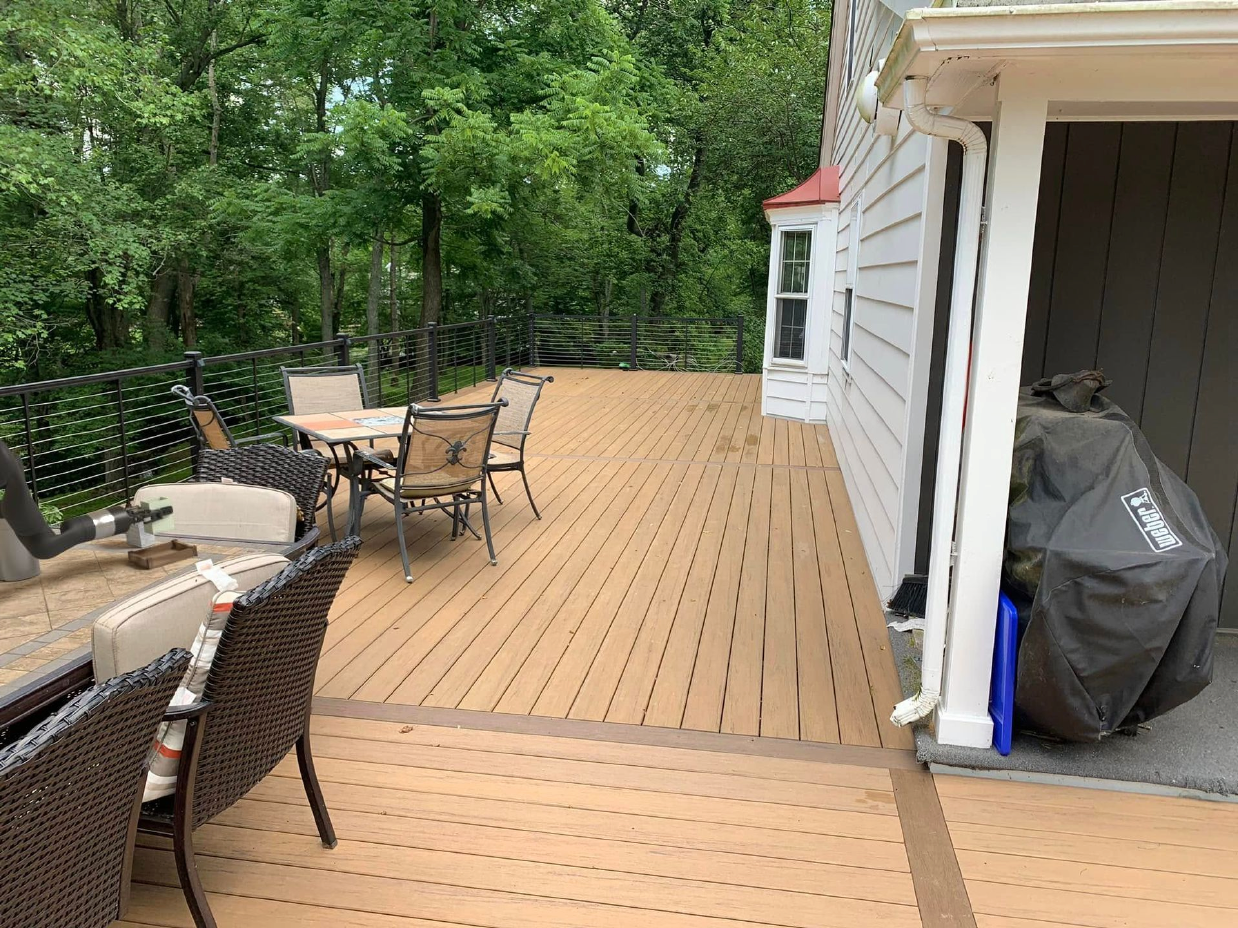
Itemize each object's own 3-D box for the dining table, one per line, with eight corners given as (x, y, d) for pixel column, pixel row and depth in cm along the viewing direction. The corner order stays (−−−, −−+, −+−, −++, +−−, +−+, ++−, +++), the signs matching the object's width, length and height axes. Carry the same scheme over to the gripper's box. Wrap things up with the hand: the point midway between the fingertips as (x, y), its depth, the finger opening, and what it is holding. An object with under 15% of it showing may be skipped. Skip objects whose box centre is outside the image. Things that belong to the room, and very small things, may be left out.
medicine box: (156, 544, 265) (152, 516, 263) (141, 548, 261) (137, 520, 259) (141, 540, 269) (137, 512, 267) (126, 544, 266) (122, 516, 264)
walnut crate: (129, 561, 250) (127, 551, 249) (176, 548, 260) (175, 538, 260) (149, 569, 243) (147, 559, 242) (197, 555, 254) (196, 545, 253)
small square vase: (144, 532, 249) (139, 500, 247) (166, 526, 254) (162, 496, 252) (152, 535, 246) (148, 503, 244) (175, 529, 251) (171, 498, 249)
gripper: (119, 512, 232) (179, 497, 246) (88, 506, 239) (148, 492, 253) (123, 540, 234) (183, 524, 248) (92, 533, 241) (152, 517, 255)
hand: (165, 508), depth 251 cm, fingers closed on small square vase, 5 cm apart
